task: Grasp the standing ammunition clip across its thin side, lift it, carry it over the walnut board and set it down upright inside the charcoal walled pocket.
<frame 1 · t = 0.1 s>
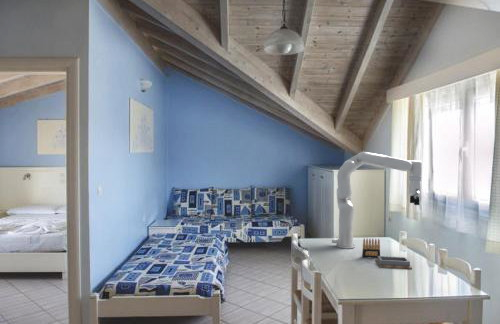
hand: (414, 203, 248), 31 cm above the table, tool pointing down, fingers open, 9 cm apart
ammunition clip: (371, 257, 230), on the table
pocket board: (393, 264, 215), on the table
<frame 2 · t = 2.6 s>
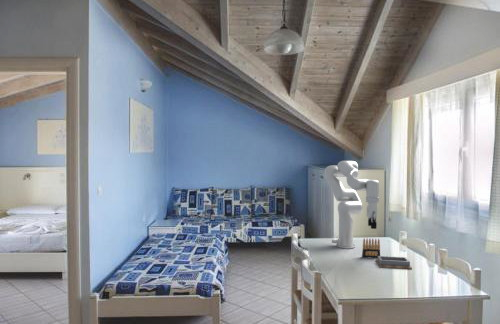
hand: (372, 227, 229), 19 cm above the table, tool pointing down, fingers open, 9 cm apart
nothing on the table moved.
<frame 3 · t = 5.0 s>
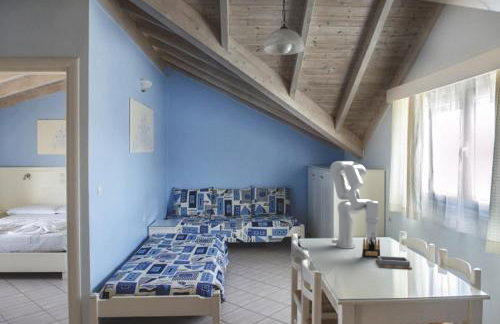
hand: (371, 249, 230), 5 cm above the table, tool pointing down, fingers closed on ammunition clip, 2 cm apart
ammunition clip: (371, 257, 230), on the table, touching gripper
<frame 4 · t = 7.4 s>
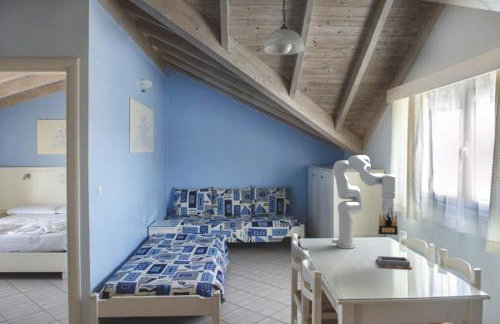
hand: (388, 226, 218), 22 cm above the table, tool pointing down, fingers closed on ammunition clip
ammunition clip: (387, 234, 218), point 17 cm above the table, touching gripper
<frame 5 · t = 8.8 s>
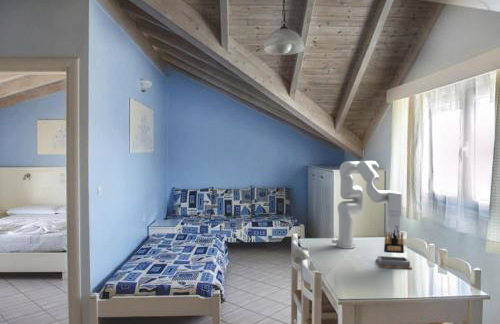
hand: (393, 244, 214), 12 cm above the table, tool pointing down, fingers closed on ammunition clip
ammunition clip: (393, 252, 214), point 7 cm above the table, touching gripper
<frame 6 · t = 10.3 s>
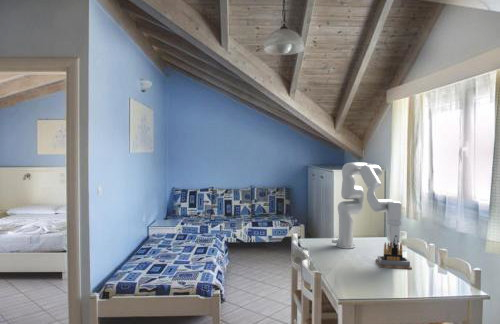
hand: (393, 253, 214), 7 cm above the table, tool pointing down, fingers open, 4 cm apart
ammunition clip: (392, 263, 215), point 1 cm above the table, touching pocket board
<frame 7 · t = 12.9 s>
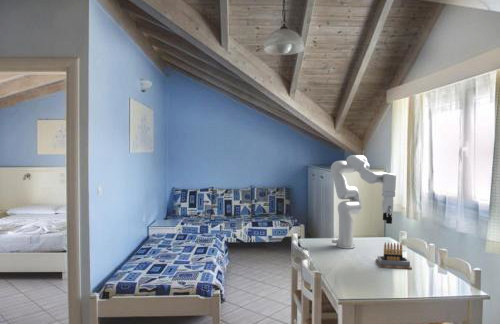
hand: (387, 221, 222), 24 cm above the table, tool pointing down, fingers open, 9 cm apart
nothing on the table moved.
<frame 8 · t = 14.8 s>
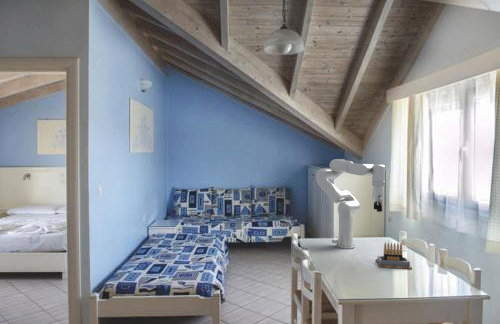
hand: (377, 210, 236), 28 cm above the table, tool pointing down, fingers open, 9 cm apart
nothing on the table moved.
at the end: ammunition clip 0.3 cm off-centre on the pocket board, point 0.8 cm above the pocket board's base; ammunition clip tilted 0°; the gripper is holding nothing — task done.
